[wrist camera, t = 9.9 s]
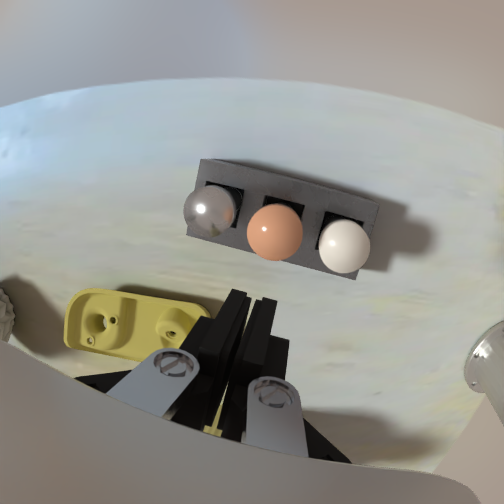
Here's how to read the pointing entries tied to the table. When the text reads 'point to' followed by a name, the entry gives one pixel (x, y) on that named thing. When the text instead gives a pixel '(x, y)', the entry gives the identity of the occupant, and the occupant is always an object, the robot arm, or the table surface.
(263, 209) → the terracotta plunger
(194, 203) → the grey plunger
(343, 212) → the grey socket block
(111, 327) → the plastic component
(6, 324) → the vase
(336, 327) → the table surface
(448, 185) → the table surface
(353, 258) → the ivory plunger
